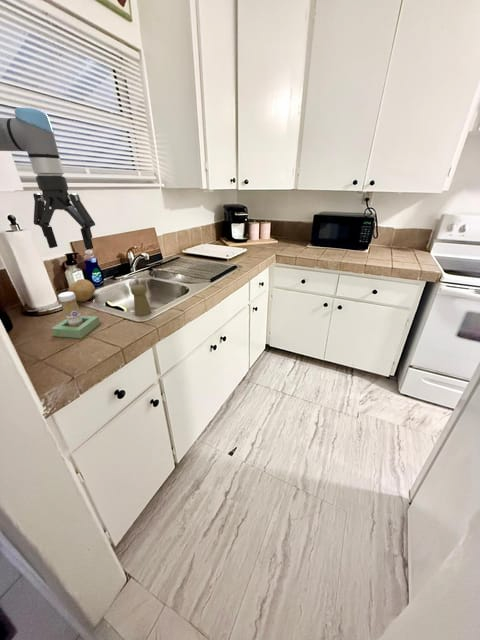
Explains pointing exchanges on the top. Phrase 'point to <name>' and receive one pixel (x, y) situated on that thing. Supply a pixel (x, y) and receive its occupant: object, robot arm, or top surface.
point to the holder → (76, 332)
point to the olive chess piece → (140, 300)
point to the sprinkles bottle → (70, 309)
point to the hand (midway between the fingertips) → (71, 248)
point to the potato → (82, 290)
